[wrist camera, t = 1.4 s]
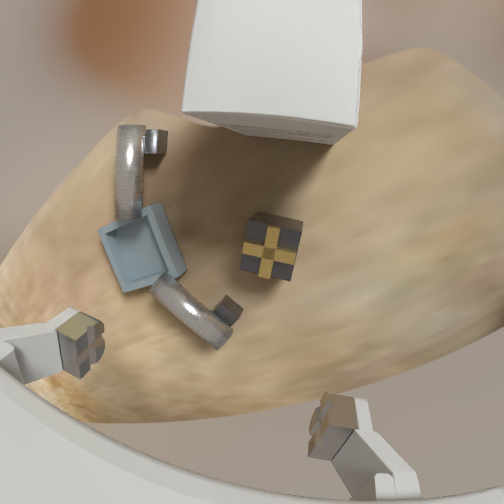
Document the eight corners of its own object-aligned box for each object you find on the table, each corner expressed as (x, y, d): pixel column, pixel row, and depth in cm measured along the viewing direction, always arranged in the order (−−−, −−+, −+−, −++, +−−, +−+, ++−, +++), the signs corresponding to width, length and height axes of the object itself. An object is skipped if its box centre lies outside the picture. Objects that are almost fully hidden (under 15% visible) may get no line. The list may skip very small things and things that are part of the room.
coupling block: (303, 221, 29) (301, 233, 24) (293, 264, 31) (289, 284, 26) (257, 211, 30) (246, 221, 25) (249, 254, 31) (238, 272, 26)
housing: (161, 201, 31) (150, 204, 29) (187, 269, 33) (178, 276, 31) (109, 225, 33) (97, 229, 31) (133, 285, 35) (123, 293, 33)
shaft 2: (162, 282, 34) (140, 300, 29) (182, 256, 32) (161, 271, 28) (221, 334, 34) (208, 358, 30) (245, 310, 33) (234, 334, 28)
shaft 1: (163, 212, 31) (139, 221, 27) (129, 209, 32) (103, 217, 27) (168, 128, 29) (143, 123, 24) (133, 129, 29) (106, 126, 25)
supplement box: (250, 51, 25) (198, -28, 11) (342, 59, 24) (365, -23, 10) (240, 137, 28) (174, 114, 14) (335, 148, 27) (360, 130, 12)
